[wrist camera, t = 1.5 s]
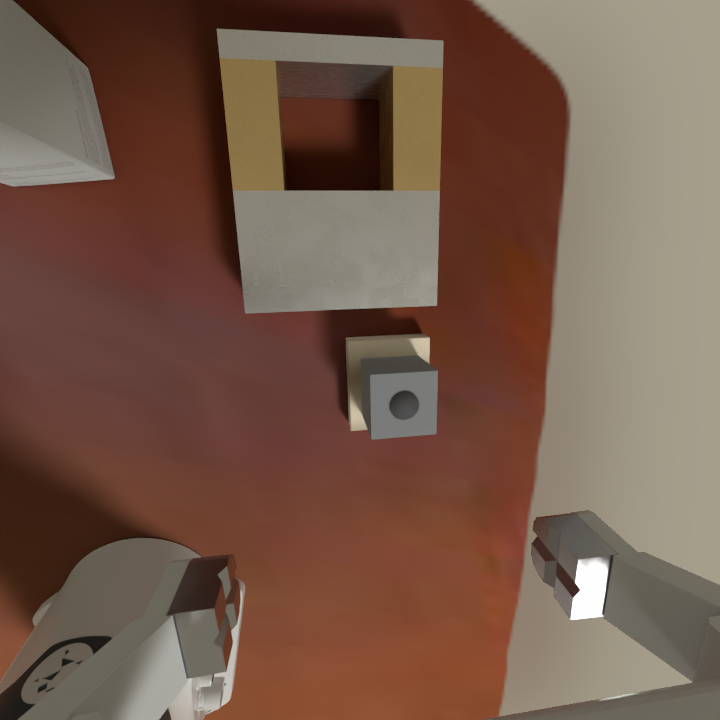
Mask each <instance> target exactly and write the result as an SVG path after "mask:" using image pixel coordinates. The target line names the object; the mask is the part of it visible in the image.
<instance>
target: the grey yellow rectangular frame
mask: <svg viewBox="0 0 720 720" xmlns="http://www.w3.org/2000/svg"><path fill="white" fill-rule="evenodd" d="M217 37H218V47H219V57H220V67H221V77H222V87H223V97H224V107H225V117H226V127H227V137H228V147H229V157H230V167H231V177H232V187H233V197H234V207H235V217H236V227H237V237H238V247H239V257H240V267H241V277H242V286H243V296H244V306H245V313H267V312H292V311H316V310H341V309H366V308H391V307H416V306H437V280H438V239H439V199H440V158H441V118H442V78H443V41H438V40H420V39H401V38H382V37H364V36H345V35H327V34H308V33H289V32H271V31H252V30H233V29H217ZM281 97H298V98H330V99H361V100H379V171H380V191H287V179H286V165H285V150H284V135H283V120H282V105H281Z"/></svg>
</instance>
